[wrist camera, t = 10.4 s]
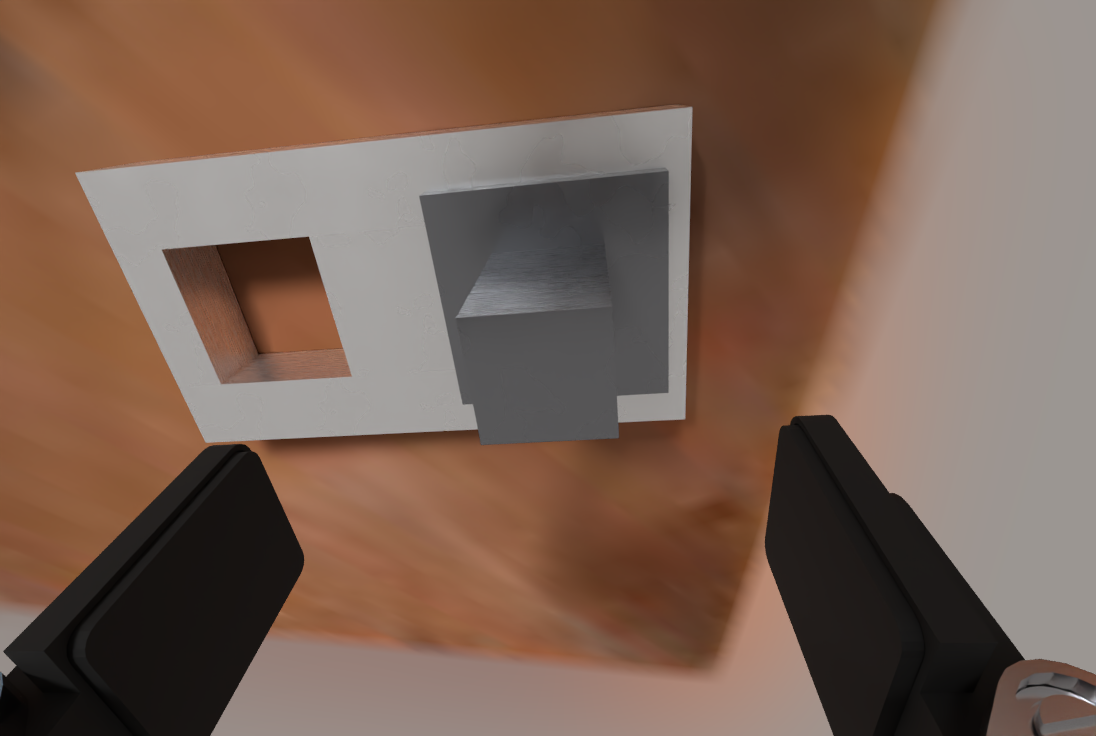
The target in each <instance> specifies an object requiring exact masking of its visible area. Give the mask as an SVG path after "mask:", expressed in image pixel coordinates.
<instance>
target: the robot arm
mask: <svg viewBox="0 0 1096 736" xmlns="http://www.w3.org/2000/svg"><path fill="white" fill-rule="evenodd" d="M765 550H766V555H767V559H768V563H769V565H770V568H771V571H772V573H773V576H774V579H775V581H776V584H777V586H778V589H779V592H780V595H781V597H782V600H783V602H784V605H785V608H786V610H787V613H788V615H789V618H790V621H791V624H792V626H793V629H794V632H795V634H796V637H797V639H798V642H799V645H800V647H801V650H802V653H803V655H804V658H805V661H806V663H807V666H808V669H809V671H810V674H811V677H812V679H813V682H814V685H815V687H816V690H817V693H818V695H819V698H820V700H821V703H822V706H823V708H824V711H825V714H826V716H827V719H828V722H829V724H830V727H831V730H832V732H833V735H834V736H1096V675H1095V674H1093V673H1091V672H1088V671H1085V670H1082V669H1080V668H1077V667H1074V666H1072V665H1069V664H1067V663H1062V662H1056V661H1050V660H1044V659H1034V660H1025V659H1024V658H1023V656H1022V655H1021V654H1020V652H1019V651H1018V650H1017V649H1016V647H1015V646H1014V644H1013V643H1012V642H1011V641H1010V639H1009V638H1008V637H1007V635H1006V634H1005V632H1004V631H1003V630H1002V628H1001V627H1000V626H999V624H998V623H997V622H996V620H995V619H994V618H993V616H992V615H991V614H990V612H989V611H988V610H987V608H986V607H985V606H984V604H983V603H982V602H981V600H980V599H979V598H978V596H977V595H976V594H975V592H974V591H973V590H972V588H971V587H970V586H969V584H968V583H967V582H966V580H965V579H964V578H963V576H962V575H961V574H960V573H959V571H958V570H957V569H956V567H955V566H954V564H953V563H952V562H951V560H950V559H949V558H948V556H947V555H946V554H945V552H944V551H943V550H942V548H941V547H940V546H939V544H938V543H937V542H936V540H935V539H934V538H933V536H932V535H931V534H930V532H929V531H928V530H927V528H926V527H925V526H924V524H923V523H922V522H921V521H920V519H919V518H918V516H917V515H916V514H915V512H914V511H913V510H912V508H911V507H910V506H909V505H908V503H906V501H905V500H904V499H903V498H902V497H901V496H899V495H897V494H895V493H889V492H888V491H887V489H886V488H885V486H884V485H883V484H882V482H881V481H880V479H879V478H878V477H877V475H876V474H875V472H874V471H873V470H872V468H871V467H870V466H869V464H868V463H867V461H866V460H865V459H864V457H863V456H862V455H861V453H860V452H859V450H858V449H857V448H856V446H855V445H854V443H853V442H852V441H851V439H850V438H849V437H848V435H847V434H846V432H845V431H844V430H843V428H842V427H841V426H840V424H839V423H838V421H837V420H836V419H835V418H834V417H833V416H831V415H814V416H795V417H794V418H793V419H792V421H791V423H790V425H788V426H782V427H781V429H780V432H779V438H778V446H777V453H776V461H775V468H774V476H773V483H772V491H771V498H770V506H769V513H768V521H767V528H766V536H765ZM303 565H304V554H303V551H302V549H301V547H300V545H299V542H298V540H297V538H296V536H295V534H294V531H293V529H292V527H291V525H290V523H289V521H288V518H287V516H286V514H285V512H284V510H283V507H282V505H281V503H280V501H279V499H278V497H277V494H276V492H275V490H274V488H273V486H272V483H271V481H270V479H269V477H268V475H267V473H266V470H265V468H264V466H263V464H262V462H261V459H260V457H259V456H258V454H256V453H255V452H252V451H251V450H250V448H249V447H247V446H246V445H243V444H232V445H213V446H209V447H207V448H206V449H205V450H203V451H202V452H201V453H200V454H199V455H198V456H197V457H196V458H195V459H194V460H193V461H192V462H191V463H190V464H189V465H188V466H187V467H186V468H185V469H184V470H183V471H182V472H181V473H180V474H179V475H178V476H177V477H176V478H175V479H174V480H173V482H172V483H171V484H170V485H169V486H168V487H167V488H166V489H165V490H164V491H163V492H162V493H161V494H160V495H159V496H158V497H157V498H156V499H155V500H154V501H153V502H152V503H151V504H150V505H149V506H148V507H147V508H146V509H145V510H144V511H143V512H142V513H141V514H140V515H139V516H138V517H137V518H136V519H135V520H134V521H133V522H132V523H131V524H130V525H129V526H128V527H127V528H126V529H125V530H124V531H123V532H122V533H121V534H120V535H119V536H118V537H117V538H116V539H115V540H114V541H113V542H112V543H111V544H110V545H109V546H108V547H107V548H106V549H105V550H104V551H103V552H102V553H101V554H100V555H99V556H98V557H97V558H96V559H95V560H94V561H93V562H92V563H91V564H90V565H89V566H88V567H87V568H86V569H85V570H84V571H83V572H82V573H81V574H80V575H79V576H78V577H77V578H76V579H75V580H74V581H73V582H72V583H71V584H70V585H69V586H68V587H67V588H66V589H65V590H64V591H63V592H62V593H61V594H60V595H59V596H58V597H57V598H56V599H55V600H54V601H53V602H52V603H51V604H50V605H49V606H48V607H47V608H46V609H45V610H44V611H43V612H42V613H41V614H40V615H39V616H38V617H37V618H36V619H35V620H34V621H33V622H32V623H31V624H30V625H29V626H28V627H27V628H26V629H25V630H24V631H23V632H22V633H21V634H20V635H19V636H18V637H17V638H16V639H15V640H14V641H13V642H12V643H11V644H10V645H9V646H8V647H7V648H6V649H5V650H4V653H5V654H6V655H7V656H8V657H9V658H10V659H11V660H12V661H13V662H14V663H15V664H16V665H17V666H16V667H15V668H14V669H13V670H12V671H11V672H10V673H9V674H8V675H7V677H5V676H4V675H3V674H2V673H1V672H0V736H210V735H211V733H212V731H213V730H214V728H215V726H216V724H217V722H218V721H219V719H220V717H221V715H222V714H223V712H224V710H225V708H226V706H227V705H228V703H229V701H230V699H231V697H232V696H233V694H234V692H235V690H236V689H237V687H238V685H239V683H240V681H241V680H242V678H243V676H244V674H245V672H246V671H247V669H248V667H249V665H250V663H251V662H252V660H253V658H254V656H255V654H256V653H257V651H258V649H259V647H260V646H261V644H262V642H263V640H264V638H265V637H266V635H267V633H268V631H269V630H270V628H271V626H272V624H273V622H274V621H275V619H276V617H277V615H278V613H279V612H280V610H281V608H282V606H283V604H284V603H285V601H286V599H287V597H288V596H289V594H290V592H291V590H292V588H293V587H294V585H295V583H296V581H297V579H298V578H299V576H300V574H301V572H302V569H303Z"/></svg>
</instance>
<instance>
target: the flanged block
mask: <svg viewBox="0 0 1096 736" xmlns="http://www.w3.org/2000/svg"><path fill="white" fill-rule="evenodd" d="M419 198H420V203H421V207H422V212H423V217H424V222H425V227H426V231H427V236H428V241H429V246H430V251H431V255H432V260H433V265H434V270H435V275H436V279H437V284H438V289H439V294H440V299H441V303H442V308H443V313H444V318H445V322H446V327H447V332H448V337H449V342H450V346H451V351H452V356H453V361H454V366H455V370H456V375H457V380H458V385H459V390H460V394H461V399H462V404H463V405H465V404H473V407H474V412H475V417H476V422H477V427H478V432H479V437H480V442H481V445H489V444H510V443H530V442H551V441H571V440H591V439H612V438H619V428H618V408H617V396H623V395H640V394H658V393H669V171H668V170H667V169H666V168H656V169H646V170H636V171H626V172H616V173H606V174H596V175H586V176H576V177H566V178H556V179H546V180H537V181H527V182H517V183H507V184H497V185H487V186H477V187H467V188H457V189H447V190H437V191H427V192H424V193H422V194H421V195H419Z"/></svg>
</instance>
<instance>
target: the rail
mask: <svg viewBox="0 0 1096 736" xmlns="http://www.w3.org/2000/svg"><path fill="white" fill-rule="evenodd" d="M691 146H692V107H690V106H685V105H680V104H675V105H666V106H657V107H647V108H638V109H629V110H619V111H610V112H601V113H591V114H582V115H573V116H564V117H554V118H545V119H536V120H526V121H517V122H508V123H499V124H489V125H480V126H471V127H461V128H452V129H443V130H433V131H424V132H415V133H406V134H396V135H387V136H378V137H368V138H359V139H350V140H341V141H331V142H322V143H313V144H303V145H294V146H285V147H275V148H266V149H257V150H248V151H238V152H229V153H220V154H210V155H201V156H192V157H183V158H173V159H164V160H155V161H145V162H136V163H130V164H124V165H119V166H113V167H107V168H101V169H95V170H89V171H83V172H77V173H75V174H76V176H77V178H78V180H79V182H80V184H81V186H82V188H83V190H84V192H85V194H86V196H87V198H88V200H89V202H90V205H91V207H92V209H93V211H94V213H95V215H96V217H97V219H98V221H99V223H100V225H101V227H102V229H103V231H104V233H105V236H106V238H107V240H108V242H109V244H110V246H111V248H112V250H113V252H114V254H115V256H116V258H117V260H118V262H119V264H120V266H121V269H122V271H123V273H124V275H125V277H126V279H127V281H128V283H129V285H130V287H131V289H132V291H133V293H134V295H135V297H136V300H137V302H138V304H139V306H140V308H141V310H142V312H143V314H144V316H145V318H146V320H147V322H148V324H149V326H150V328H151V331H152V333H153V335H154V337H155V339H156V341H157V343H158V345H159V347H160V349H161V351H162V353H163V355H164V357H165V359H166V362H167V364H168V366H169V368H170V370H171V372H172V374H173V376H174V378H175V380H176V382H177V384H178V386H179V388H180V390H181V393H182V395H183V397H184V399H185V401H186V403H187V405H188V407H189V409H190V411H191V413H192V415H193V417H194V419H195V421H196V424H197V426H198V428H199V430H200V432H201V434H202V436H203V438H204V440H205V442H206V443H207V442H228V441H249V440H269V439H290V438H310V437H331V436H351V435H372V434H393V433H413V432H434V431H454V430H475V429H478V427H477V422H476V417H475V412H474V407H473V404H465V405H463V404H462V399H461V394H460V390H459V385H458V380H457V375H456V370H455V366H454V361H453V356H452V351H451V346H450V342H449V337H448V332H447V327H446V322H445V318H444V313H443V308H442V303H441V299H440V294H439V289H438V284H437V279H436V275H435V270H434V265H433V260H432V255H431V251H430V246H429V241H428V236H427V231H426V227H425V222H424V217H423V212H422V207H421V203H420V198H419V195H421V194H422V193H424V192H427V191H437V190H447V189H457V188H467V187H477V186H487V185H497V184H507V183H517V182H527V181H537V180H546V179H556V178H566V177H576V176H586V175H596V174H606V173H616V172H626V171H636V170H646V169H656V168H666V169H667V170H668V171H669V393H658V394H640V395H623V396H617V408H618V423H619V422H639V421H660V420H681V419H685V408H686V365H687V321H688V277H689V233H690V190H691ZM308 236H309V239H310V242H311V245H312V248H313V252H314V255H315V258H316V261H317V265H318V268H319V271H320V274H321V278H322V281H323V284H324V287H325V291H326V294H327V297H328V300H329V304H330V307H331V310H332V313H333V317H334V320H335V323H336V326H337V330H338V333H339V336H340V339H341V343H342V346H343V349H327V350H312V351H297V352H282V353H267V354H258V352H257V350H256V347H255V345H254V342H253V340H252V337H251V334H250V332H249V329H248V327H247V324H246V322H245V319H244V317H243V314H242V312H241V309H240V306H239V304H238V301H237V299H236V296H235V294H234V291H233V289H232V286H231V283H230V281H229V278H228V276H227V273H226V271H225V268H224V266H223V263H222V260H221V258H220V255H219V253H218V250H217V248H216V245H218V244H230V243H241V242H252V241H263V240H275V239H286V238H297V237H308Z"/></svg>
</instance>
